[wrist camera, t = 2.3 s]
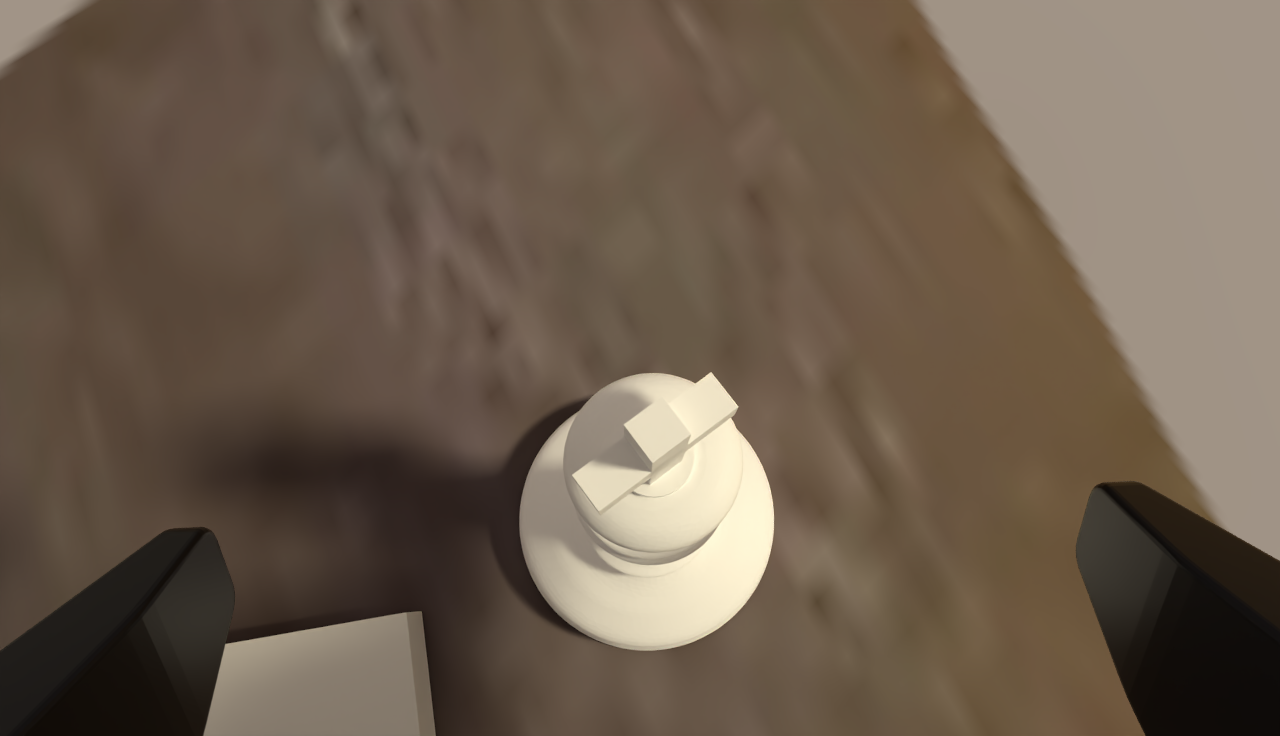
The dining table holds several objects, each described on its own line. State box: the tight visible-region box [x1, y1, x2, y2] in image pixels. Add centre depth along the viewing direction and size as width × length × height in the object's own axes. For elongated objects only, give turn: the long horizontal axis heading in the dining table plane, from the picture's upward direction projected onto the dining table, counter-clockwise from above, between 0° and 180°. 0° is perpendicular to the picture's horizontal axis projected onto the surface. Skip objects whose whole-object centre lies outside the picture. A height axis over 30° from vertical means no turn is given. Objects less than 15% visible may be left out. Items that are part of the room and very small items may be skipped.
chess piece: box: [519, 373, 774, 651], centre depth 13 cm, size 5×5×10 cm
